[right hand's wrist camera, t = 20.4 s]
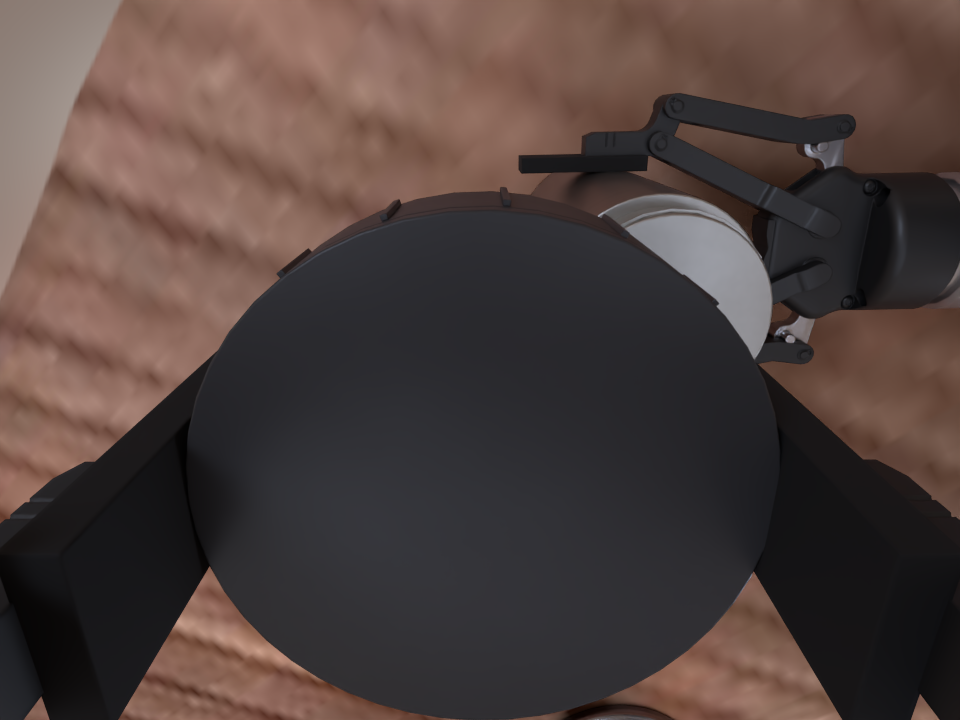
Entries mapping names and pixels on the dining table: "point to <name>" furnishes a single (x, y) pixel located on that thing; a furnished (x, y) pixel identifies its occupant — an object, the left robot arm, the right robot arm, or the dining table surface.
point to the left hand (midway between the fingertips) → (520, 250)
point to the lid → (483, 459)
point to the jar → (680, 240)
